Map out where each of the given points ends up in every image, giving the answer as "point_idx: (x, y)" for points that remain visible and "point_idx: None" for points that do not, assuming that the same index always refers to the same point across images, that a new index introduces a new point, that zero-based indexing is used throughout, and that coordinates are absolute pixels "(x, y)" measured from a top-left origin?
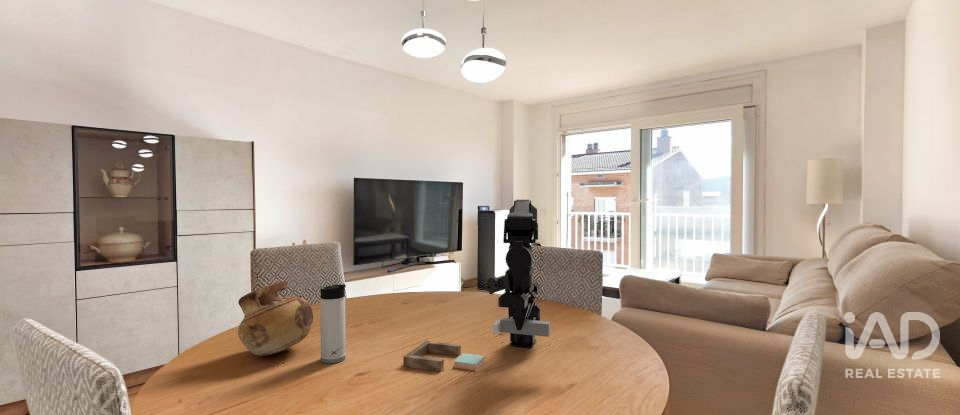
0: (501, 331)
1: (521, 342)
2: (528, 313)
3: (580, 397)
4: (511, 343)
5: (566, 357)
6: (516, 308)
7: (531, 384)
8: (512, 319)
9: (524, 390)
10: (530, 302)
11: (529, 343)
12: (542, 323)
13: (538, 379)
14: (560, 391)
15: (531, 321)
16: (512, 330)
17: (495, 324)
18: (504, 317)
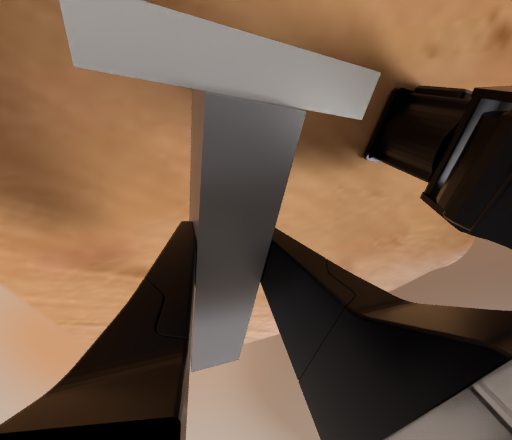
0: (192, 95)
1: (388, 129)
2: (277, 325)
3: (86, 298)
4: (401, 92)
5: (300, 237)
6: (127, 422)
7: (101, 197)
8: (249, 210)
9: (38, 186)
10: (325, 423)
11: (381, 152)
12: (198, 355)
13: (149, 208)
14: (95, 263)
15: (221, 314)
16: (192, 186)
17: (87, 28)
18: (362, 112)
